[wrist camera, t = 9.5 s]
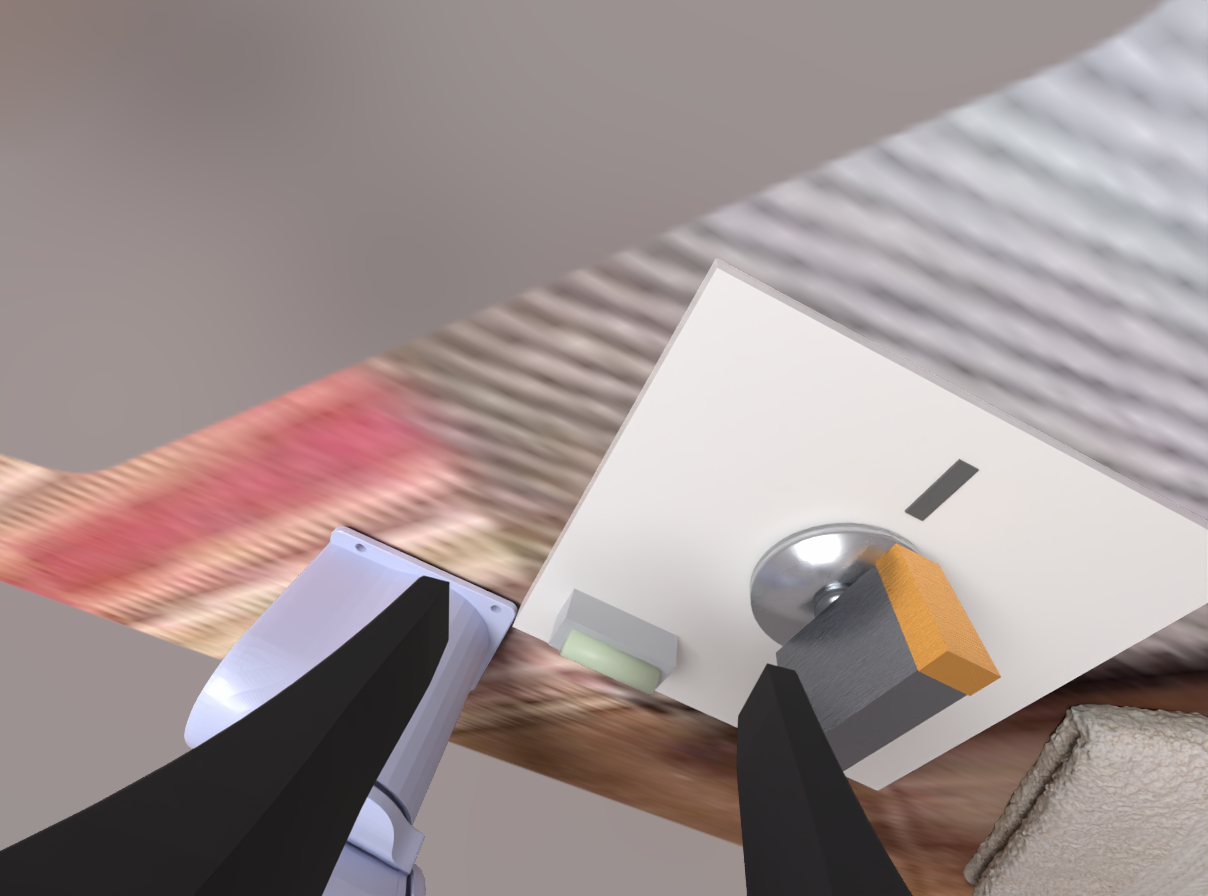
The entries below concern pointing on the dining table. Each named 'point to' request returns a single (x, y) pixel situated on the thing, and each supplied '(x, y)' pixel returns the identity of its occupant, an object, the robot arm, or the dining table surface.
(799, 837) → the robot arm
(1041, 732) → the dining table surface
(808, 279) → the dining table surface
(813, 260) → the dining table surface
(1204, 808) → the washcloth
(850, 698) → the rotary knob
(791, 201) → the dining table surface
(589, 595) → the base plate
